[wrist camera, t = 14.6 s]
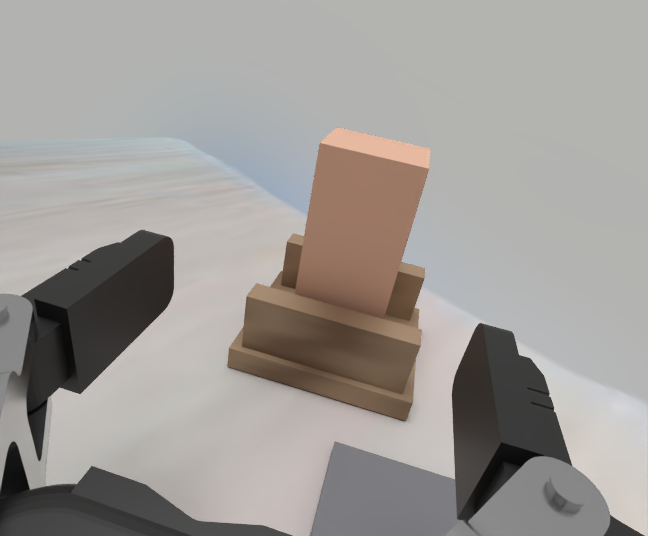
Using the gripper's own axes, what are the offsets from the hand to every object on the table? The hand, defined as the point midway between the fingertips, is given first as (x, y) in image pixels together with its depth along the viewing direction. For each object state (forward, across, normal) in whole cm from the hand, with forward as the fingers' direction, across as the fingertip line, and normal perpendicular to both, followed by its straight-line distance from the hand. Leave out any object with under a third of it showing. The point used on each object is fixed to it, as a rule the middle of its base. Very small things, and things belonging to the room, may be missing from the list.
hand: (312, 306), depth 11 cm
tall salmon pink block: (+10, 0, +8) cm, 13 cm away
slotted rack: (+10, 0, +9) cm, 14 cm away
